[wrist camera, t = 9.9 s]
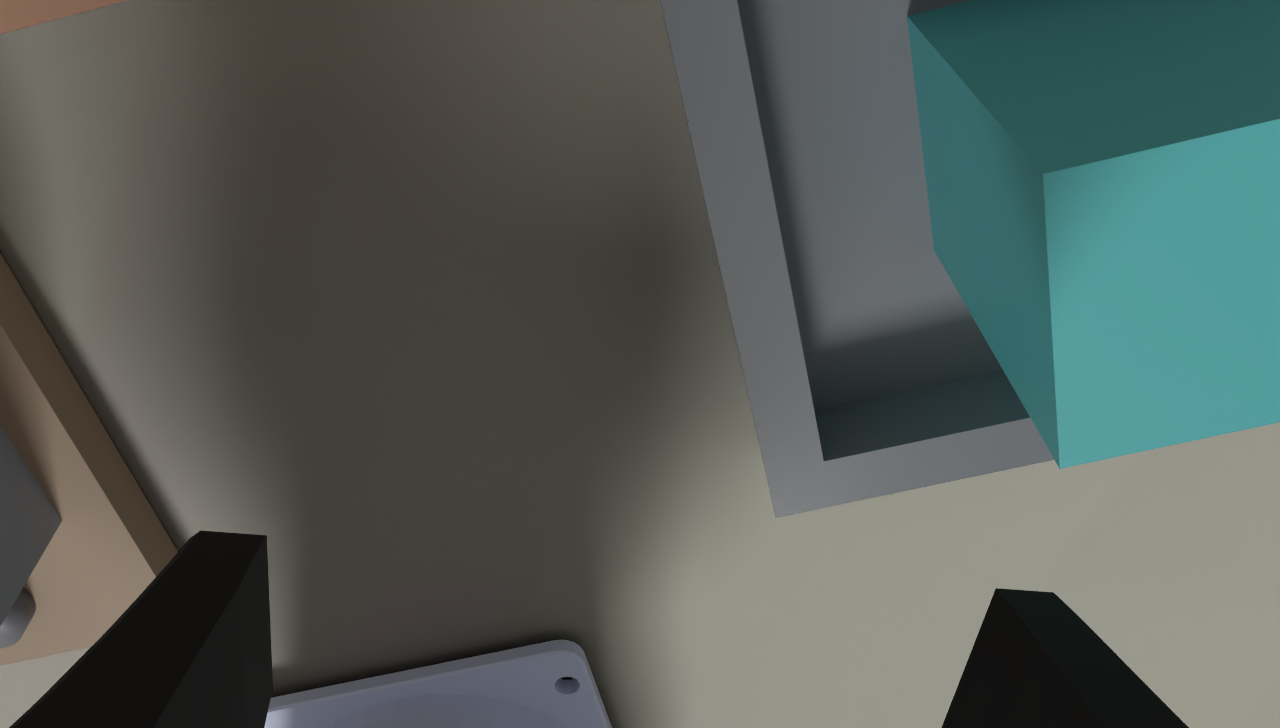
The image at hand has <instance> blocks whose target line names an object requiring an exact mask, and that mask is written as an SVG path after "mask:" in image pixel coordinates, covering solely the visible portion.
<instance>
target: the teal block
mask: <svg viewBox="0 0 1280 728" xmlns="http://www.w3.org/2000/svg"><path fill="white" fill-rule="evenodd" d="M907 21H908V30H909V39H910V47H911V56H912V64H913V73H914V82H915V90H916V99H917V108H918V116H919V125H920V133H921V142H922V151H923V159H924V168H925V177H926V185H927V194H928V203H929V211H930V220H931V228H932V237H933V246H934V251H935V253H936V255H937V256H938V258H939V260H940V262H941V263H942V265H943V267H944V269H945V270H946V272H947V274H948V275H949V277H950V279H951V281H952V282H953V284H954V286H955V288H956V289H957V291H958V293H959V295H960V296H961V298H962V300H963V302H964V303H965V305H966V307H967V308H968V310H969V312H970V314H971V315H972V317H973V319H974V321H975V322H976V324H977V326H978V328H979V329H980V331H981V333H982V335H983V336H984V338H985V340H986V341H987V343H988V345H989V347H990V348H991V350H992V352H993V354H994V355H995V357H996V359H997V361H998V362H999V364H1000V366H1001V367H1002V369H1003V371H1004V373H1005V374H1006V376H1007V378H1008V380H1009V381H1010V383H1011V385H1012V387H1013V388H1014V390H1015V392H1016V394H1017V395H1018V397H1019V399H1020V400H1021V402H1022V404H1023V406H1024V407H1025V409H1026V411H1027V413H1028V414H1029V416H1030V418H1031V420H1032V421H1033V423H1034V425H1035V427H1036V428H1037V430H1038V432H1039V433H1040V435H1041V437H1042V439H1043V440H1044V442H1045V444H1046V446H1047V447H1048V449H1049V451H1050V453H1051V454H1052V456H1053V458H1054V460H1055V461H1056V463H1057V465H1058V466H1059V468H1060V469H1061V468H1066V467H1070V466H1075V465H1080V464H1084V463H1089V462H1094V461H1099V460H1103V459H1108V458H1113V457H1117V456H1122V455H1127V454H1132V453H1136V452H1141V451H1146V450H1150V449H1155V448H1160V447H1165V446H1169V445H1174V444H1179V443H1184V442H1188V441H1193V440H1198V439H1202V438H1207V437H1212V436H1217V435H1221V434H1226V433H1231V432H1235V431H1240V430H1245V429H1250V428H1254V427H1259V426H1264V425H1268V424H1273V423H1278V422H1280V0H969V1H965V2H961V3H957V4H953V5H949V6H945V7H941V8H937V9H933V10H929V11H925V12H921V13H917V14H913V15H909V16H907Z"/></svg>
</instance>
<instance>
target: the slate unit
mask: <svg viewBox="0 0 1280 728" xmlns="http://www.w3.org/2000/svg"><path fill="white" fill-rule="evenodd" d="M177 552H178V551H177V549H176V548H175V546H174V544H173V543H172V541H171V539H170V538H169V536H168V534H167V533H166V531H165V529H164V527H163V526H162V524H161V522H160V521H159V519H158V517H157V516H156V514H155V512H154V511H153V509H152V507H151V506H150V504H149V502H148V501H147V499H146V497H145V495H144V494H143V492H142V490H141V489H140V487H139V485H138V484H137V482H136V480H135V479H134V477H133V475H132V474H131V472H130V470H129V469H128V467H127V465H126V464H125V462H124V460H123V458H122V457H121V455H120V453H119V452H118V450H117V448H116V447H115V445H114V443H113V442H112V440H111V438H110V437H109V435H108V433H107V432H106V430H105V428H104V427H103V425H102V423H101V421H100V420H99V418H98V416H97V415H96V413H95V411H94V410H93V408H92V406H91V405H90V403H89V401H88V400H87V398H86V396H85V395H84V393H83V391H82V389H81V388H80V386H79V384H78V383H77V381H76V379H75V378H74V376H73V374H72V373H71V371H70V369H69V368H68V366H67V364H66V363H65V361H64V359H63V358H62V356H61V354H60V352H59V351H58V349H57V347H56V346H55V344H54V342H53V341H52V339H51V337H50V336H49V334H48V332H47V331H46V329H45V327H44V326H43V324H42V322H41V321H40V319H39V317H38V315H37V314H36V312H35V310H34V309H33V307H32V305H31V304H30V302H29V300H28V299H27V297H26V295H25V294H24V292H23V290H22V289H21V287H20V285H19V283H18V282H17V280H16V278H15V277H14V275H13V273H12V272H11V270H10V268H9V267H8V265H7V263H6V262H5V260H4V258H3V257H2V255H1V253H0V666H1V665H6V664H11V663H16V662H20V661H25V660H30V659H35V658H39V657H44V656H49V655H54V654H58V653H63V652H68V651H73V650H77V649H82V648H87V647H92V646H93V645H94V644H95V643H96V642H97V641H98V640H99V639H100V638H101V637H102V635H103V634H104V633H105V632H106V631H107V630H108V629H109V628H110V627H111V626H112V625H113V624H114V623H115V622H116V620H117V619H118V618H119V617H120V616H121V615H122V614H123V613H124V612H125V611H126V610H127V609H128V608H129V606H130V605H131V604H132V603H133V602H134V601H135V600H136V599H137V598H138V597H139V595H140V594H141V593H142V592H143V591H144V590H145V589H146V588H147V587H148V585H149V584H150V583H151V582H152V581H153V580H154V579H155V578H156V576H157V575H158V574H159V573H160V572H161V571H162V570H163V568H164V567H165V566H166V565H167V564H168V563H169V562H170V561H171V559H172V558H173V557H174V556H175V555H176V554H177Z"/></svg>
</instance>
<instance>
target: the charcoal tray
mask: <svg viewBox="0 0 1280 728" xmlns="http://www.w3.org/2000/svg"><path fill="white" fill-rule="evenodd" d="M965 1H969V0H660V2H661V6H662V11H663V15H664V20H665V24H666V29H667V33H668V38H669V42H670V46H671V51H672V55H673V60H674V64H675V69H676V73H677V78H678V82H679V87H680V91H681V96H682V100H683V105H684V109H685V114H686V118H687V123H688V127H689V132H690V136H691V141H692V145H693V149H694V154H695V158H696V163H697V167H698V172H699V176H700V181H701V185H702V190H703V194H704V199H705V203H706V208H707V212H708V217H709V221H710V226H711V230H712V235H713V239H714V244H715V248H716V252H717V257H718V261H719V266H720V270H721V275H722V279H723V284H724V288H725V293H726V297H727V302H728V306H729V311H730V315H731V320H732V324H733V329H734V333H735V338H736V342H737V347H738V351H739V355H740V360H741V364H742V369H743V373H744V378H745V382H746V387H747V391H748V396H749V400H750V405H751V409H752V414H753V418H754V423H755V427H756V432H757V436H758V441H759V445H760V450H761V454H762V458H763V463H764V467H765V472H766V476H767V481H768V485H769V490H770V494H771V499H772V503H773V508H774V512H775V517H776V518H777V517H782V516H787V515H792V514H797V513H801V512H806V511H811V510H816V509H821V508H825V507H830V506H835V505H840V504H844V503H849V502H854V501H859V500H864V499H868V498H873V497H878V496H883V495H888V494H892V493H897V492H902V491H907V490H911V489H916V488H921V487H926V486H931V485H935V484H940V483H945V482H950V481H954V480H959V479H964V478H969V477H974V476H978V475H983V474H988V473H993V472H998V471H1002V470H1007V469H1012V468H1017V467H1021V466H1026V465H1031V464H1036V463H1041V462H1045V461H1050V460H1054V458H1053V456H1052V454H1051V453H1050V451H1049V449H1048V447H1047V446H1046V444H1045V442H1044V440H1043V439H1042V437H1041V435H1040V433H1039V432H1038V430H1037V428H1036V427H1035V425H1034V423H1033V421H1032V420H1031V418H1030V416H1029V414H1028V413H1027V411H1026V409H1025V407H1024V406H1023V404H1022V402H1021V400H1020V399H1019V397H1018V395H1017V394H1016V392H1015V390H1014V388H1013V387H1012V385H1011V383H1010V381H1009V380H1008V378H1007V376H1006V374H1005V373H1004V371H1003V369H1002V367H1001V366H1000V364H999V362H998V361H997V359H996V357H995V355H994V354H993V352H992V350H991V348H990V347H989V345H988V343H987V341H986V340H985V338H984V336H983V335H982V333H981V331H980V329H979V328H978V326H977V324H976V322H975V321H974V319H973V317H972V315H971V314H970V312H969V310H968V308H967V307H966V305H965V303H964V302H963V300H962V298H961V296H960V295H959V293H958V291H957V289H956V288H955V286H954V284H953V282H952V281H951V279H950V277H949V275H948V274H947V272H946V270H945V269H944V267H943V265H942V263H941V262H940V260H939V258H938V256H937V255H936V253H935V251H934V246H933V237H932V228H931V220H930V211H929V203H928V194H927V185H926V177H925V168H924V159H923V151H922V142H921V133H920V125H919V116H918V108H917V99H916V90H915V82H914V73H913V64H912V56H911V47H910V39H909V30H908V21H907V16H909V15H913V14H917V13H921V12H925V11H929V10H933V9H937V8H941V7H945V6H949V5H953V4H957V3H961V2H965Z"/></svg>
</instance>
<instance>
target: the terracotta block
mask: <svg viewBox="0 0 1280 728" xmlns="http://www.w3.org/2000/svg"><path fill="white" fill-rule="evenodd" d="M123 1H127V0H0V34H3V33H7V32H10V31H14V30H18V29H22V28H25V27H29V26H33V25H37V24H40V23H44V22H48V21H52V20H55V19H59V18H63V17H67V16H70V15H74V14H78V13H82V12H85V11H89V10H93V9H97V8H100V7H104V6H108V5H112V4H115V3H119V2H123Z"/></svg>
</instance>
